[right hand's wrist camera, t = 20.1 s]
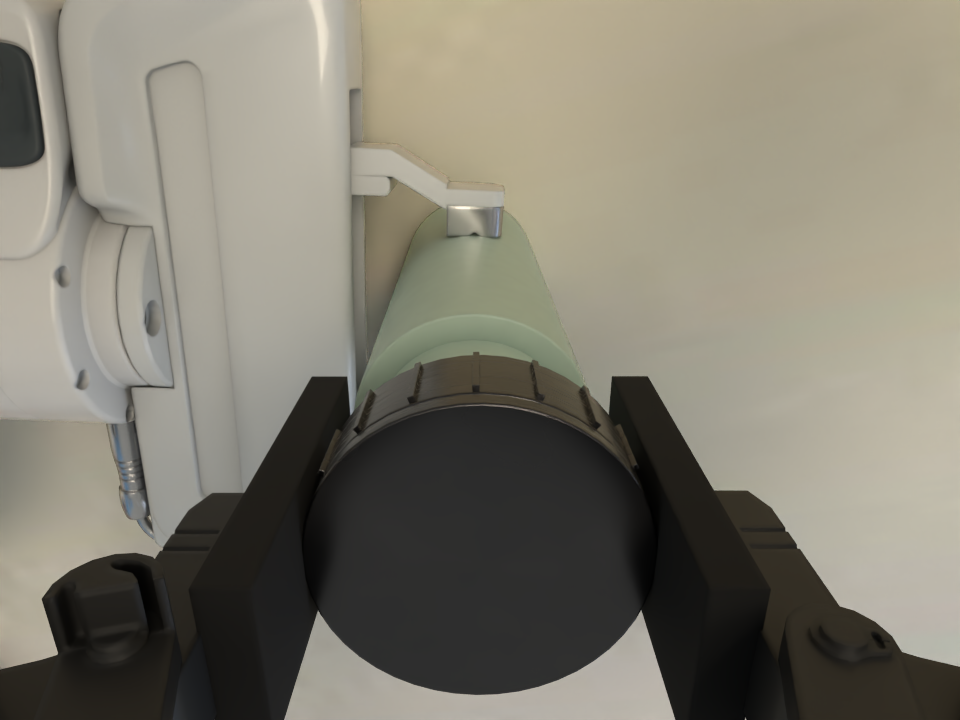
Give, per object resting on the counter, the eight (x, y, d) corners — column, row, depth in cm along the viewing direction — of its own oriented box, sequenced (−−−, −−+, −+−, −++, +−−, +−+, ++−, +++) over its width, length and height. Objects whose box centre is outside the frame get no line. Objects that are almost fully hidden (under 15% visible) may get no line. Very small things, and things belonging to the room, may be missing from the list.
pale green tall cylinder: (555, 241, 28) (661, 426, 13) (491, 342, 30) (516, 612, 15) (447, 175, 27) (421, 291, 12) (386, 284, 29) (294, 509, 14)
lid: (264, 516, 13) (228, 587, 11) (454, 283, 11) (449, 320, 9) (499, 661, 14) (502, 746, 12) (701, 473, 12) (738, 539, 10)
